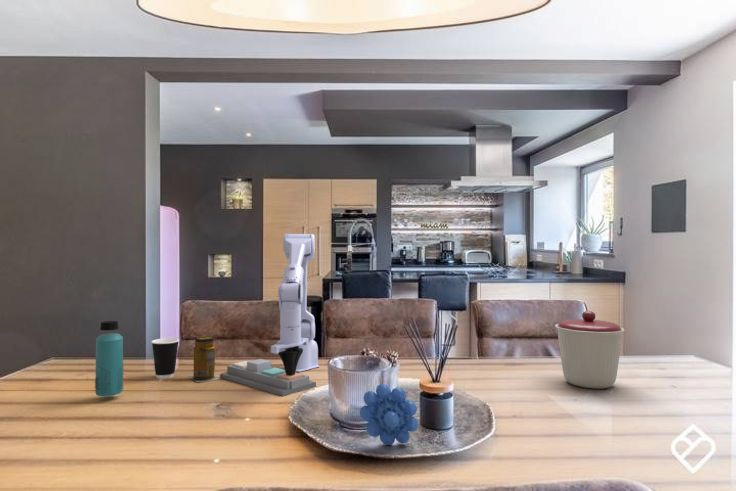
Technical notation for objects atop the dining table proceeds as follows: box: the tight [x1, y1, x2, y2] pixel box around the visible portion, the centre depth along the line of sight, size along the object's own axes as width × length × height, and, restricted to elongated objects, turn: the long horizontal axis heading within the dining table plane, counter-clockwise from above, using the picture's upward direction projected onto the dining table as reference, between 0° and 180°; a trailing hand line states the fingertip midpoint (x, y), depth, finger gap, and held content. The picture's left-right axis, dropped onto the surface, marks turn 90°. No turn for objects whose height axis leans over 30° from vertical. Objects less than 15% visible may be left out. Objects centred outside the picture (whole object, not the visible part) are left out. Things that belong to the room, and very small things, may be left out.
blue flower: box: [359, 383, 419, 446], centre depth 90 cm, size 12×7×12 cm, turn 97°
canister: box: [554, 310, 626, 390], centre depth 134 cm, size 18×18×21 cm
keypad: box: [219, 363, 317, 397], centre depth 136 cm, size 12×29×3 cm, turn 51°
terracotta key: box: [278, 372, 304, 381], centre depth 129 cm, size 5×5×2 cm
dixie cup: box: [150, 337, 180, 380], centre depth 142 cm, size 8×8×11 cm
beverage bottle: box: [94, 320, 125, 397], centre depth 120 cm, size 6×7×20 cm
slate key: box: [247, 358, 272, 372], centre depth 138 cm, size 5×5×2 cm
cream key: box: [232, 360, 249, 369], centre depth 143 cm, size 5×5×2 cm
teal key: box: [262, 367, 286, 376], centre depth 134 cm, size 5×5×2 cm
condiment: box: [187, 336, 222, 383], centre depth 140 cm, size 7×8×12 cm
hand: (290, 374), depth 129 cm, fingers closed, pressing on terracotta key
